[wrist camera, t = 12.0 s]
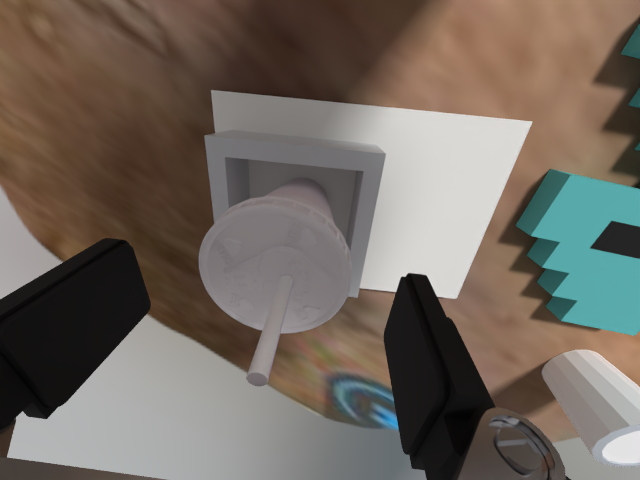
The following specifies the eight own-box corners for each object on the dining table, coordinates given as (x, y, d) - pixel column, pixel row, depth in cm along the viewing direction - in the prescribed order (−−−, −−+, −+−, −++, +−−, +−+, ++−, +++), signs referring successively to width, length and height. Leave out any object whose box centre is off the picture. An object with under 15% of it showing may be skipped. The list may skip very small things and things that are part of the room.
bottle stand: (217, 90, 17) (174, 84, 12) (522, 120, 17) (589, 125, 12) (232, 267, 23) (207, 304, 19) (451, 291, 23) (478, 335, 19)
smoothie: (345, 241, 20) (357, 450, 8) (266, 240, 21) (156, 439, 8) (346, 157, 17) (369, 275, 5) (254, 159, 18) (58, 272, 5)
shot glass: (616, 339, 24) (712, 419, 18) (604, 384, 27) (683, 465, 21) (536, 351, 26) (599, 428, 19) (533, 392, 29) (587, 471, 22)
